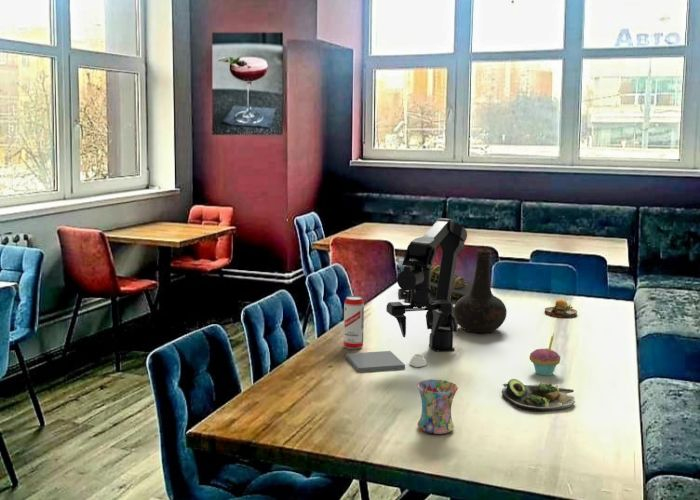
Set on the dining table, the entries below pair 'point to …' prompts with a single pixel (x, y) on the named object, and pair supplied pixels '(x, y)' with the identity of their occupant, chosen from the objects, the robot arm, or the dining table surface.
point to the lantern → (458, 283)
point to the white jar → (417, 360)
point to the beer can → (353, 322)
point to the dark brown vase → (480, 301)
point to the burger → (561, 310)
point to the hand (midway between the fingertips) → (418, 336)
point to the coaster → (375, 361)
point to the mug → (436, 405)
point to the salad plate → (536, 396)
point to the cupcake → (545, 360)
